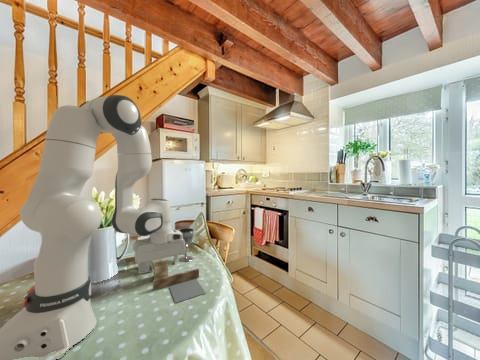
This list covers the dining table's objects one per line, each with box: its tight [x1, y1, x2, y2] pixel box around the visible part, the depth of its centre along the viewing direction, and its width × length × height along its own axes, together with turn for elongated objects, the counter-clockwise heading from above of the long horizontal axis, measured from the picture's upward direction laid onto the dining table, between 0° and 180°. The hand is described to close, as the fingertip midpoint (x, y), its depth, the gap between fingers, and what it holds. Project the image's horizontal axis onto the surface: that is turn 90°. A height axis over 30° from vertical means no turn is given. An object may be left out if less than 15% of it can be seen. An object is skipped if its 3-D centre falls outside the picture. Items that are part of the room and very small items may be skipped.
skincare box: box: [137, 235, 154, 275], centre depth 92 cm, size 8×6×15 cm
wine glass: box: [178, 227, 195, 263], centre depth 103 cm, size 8×8×15 cm
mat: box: [168, 278, 207, 304], centre depth 77 cm, size 11×11×1 cm
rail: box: [152, 268, 200, 291], centre depth 81 cm, size 18×1×4 cm, turn 121°
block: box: [153, 259, 169, 280], centre depth 86 cm, size 5×5×6 cm
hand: (161, 267), depth 86 cm, fingers open, 8 cm apart
